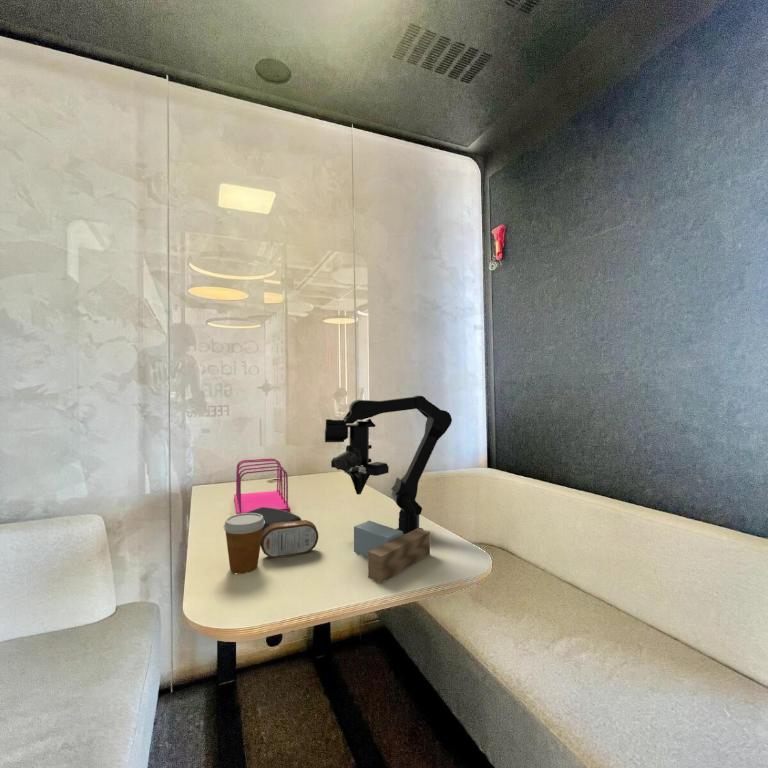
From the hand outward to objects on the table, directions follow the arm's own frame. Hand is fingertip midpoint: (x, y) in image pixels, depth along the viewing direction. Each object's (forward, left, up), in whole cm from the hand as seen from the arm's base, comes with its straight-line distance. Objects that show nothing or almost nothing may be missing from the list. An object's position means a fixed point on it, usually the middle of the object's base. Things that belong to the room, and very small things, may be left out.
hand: (358, 494), depth 118 cm
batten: (+8, +22, -12) cm, 26 cm away
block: (+7, +14, -12) cm, 20 cm away
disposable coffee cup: (+34, -6, -12) cm, 37 cm away
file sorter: (+3, -47, -12) cm, 49 cm away
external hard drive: (+13, -26, -13) cm, 32 cm away
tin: (+22, -4, -12) cm, 26 cm away
